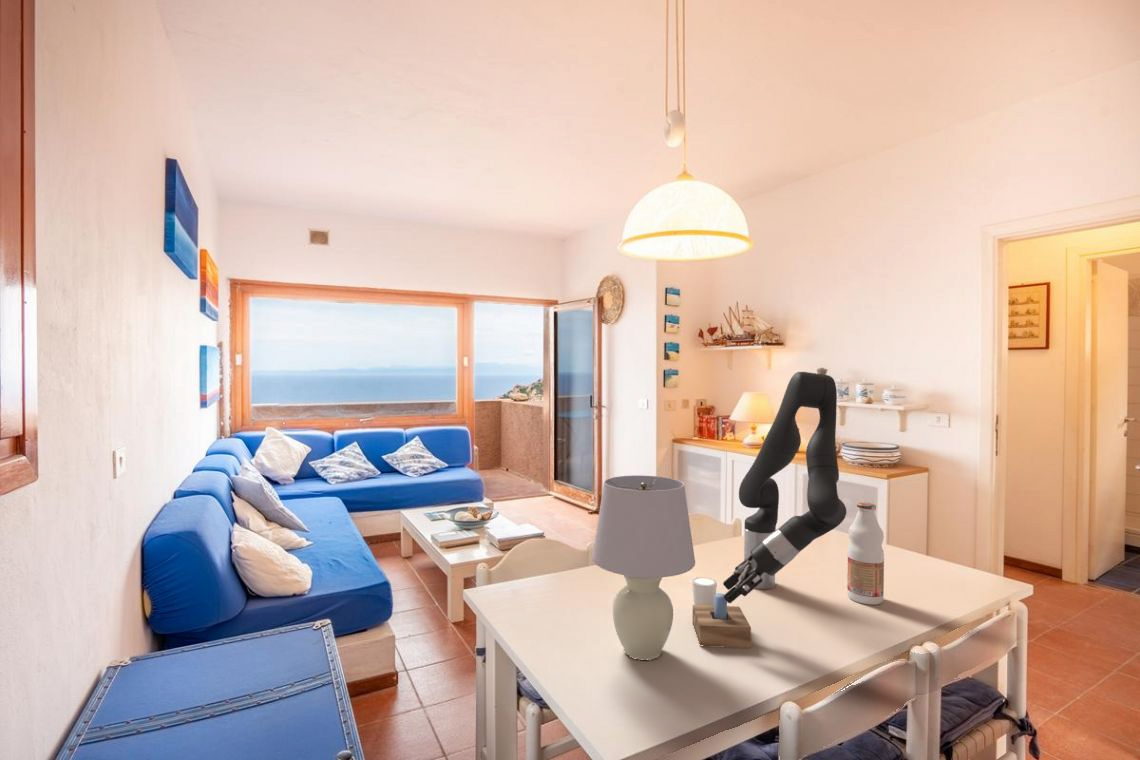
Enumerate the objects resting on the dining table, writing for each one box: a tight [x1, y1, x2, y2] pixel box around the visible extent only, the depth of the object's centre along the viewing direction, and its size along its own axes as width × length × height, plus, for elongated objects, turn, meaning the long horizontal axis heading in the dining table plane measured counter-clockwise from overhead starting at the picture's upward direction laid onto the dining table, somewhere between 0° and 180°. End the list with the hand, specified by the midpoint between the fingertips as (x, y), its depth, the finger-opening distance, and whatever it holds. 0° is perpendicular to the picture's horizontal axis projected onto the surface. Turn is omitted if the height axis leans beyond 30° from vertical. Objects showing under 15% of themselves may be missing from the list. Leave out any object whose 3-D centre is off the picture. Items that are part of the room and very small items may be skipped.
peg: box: [715, 593, 728, 620], centre depth 140 cm, size 3×3×10 cm
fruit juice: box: [846, 501, 885, 606], centre depth 163 cm, size 9×9×28 cm
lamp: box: [591, 474, 696, 661], centre depth 131 cm, size 24×24×40 cm
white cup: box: [691, 576, 718, 606], centre depth 158 cm, size 7×7×7 cm
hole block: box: [692, 604, 752, 649], centre depth 140 cm, size 12×12×5 cm
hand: (725, 593), depth 140 cm, fingers open, 8 cm apart
